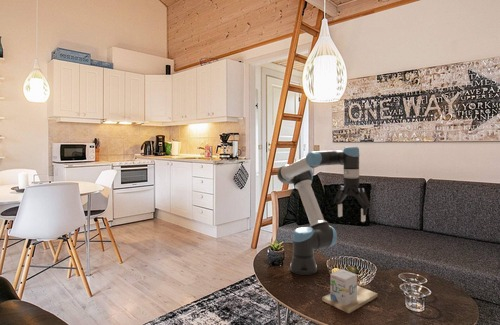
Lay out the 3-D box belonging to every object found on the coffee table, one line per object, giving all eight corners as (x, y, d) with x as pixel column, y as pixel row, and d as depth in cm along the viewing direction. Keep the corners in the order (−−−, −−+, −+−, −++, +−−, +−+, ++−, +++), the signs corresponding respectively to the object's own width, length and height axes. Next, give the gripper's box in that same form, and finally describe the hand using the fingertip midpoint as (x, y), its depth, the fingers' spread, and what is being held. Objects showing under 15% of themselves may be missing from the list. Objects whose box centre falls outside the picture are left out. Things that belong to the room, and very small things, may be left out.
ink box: (329, 298, 139) (329, 273, 138) (341, 292, 144) (341, 268, 144) (346, 306, 132) (346, 279, 132) (357, 299, 138) (357, 274, 137)
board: (322, 300, 140) (322, 297, 140) (351, 286, 154) (351, 283, 154) (348, 313, 129) (348, 309, 129) (377, 296, 143) (377, 293, 143)
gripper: (326, 176, 163) (327, 215, 165) (369, 180, 143) (369, 225, 145) (335, 175, 168) (335, 213, 169) (378, 178, 148) (378, 222, 149)
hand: (351, 218), depth 157 cm, fingers open, 13 cm apart
